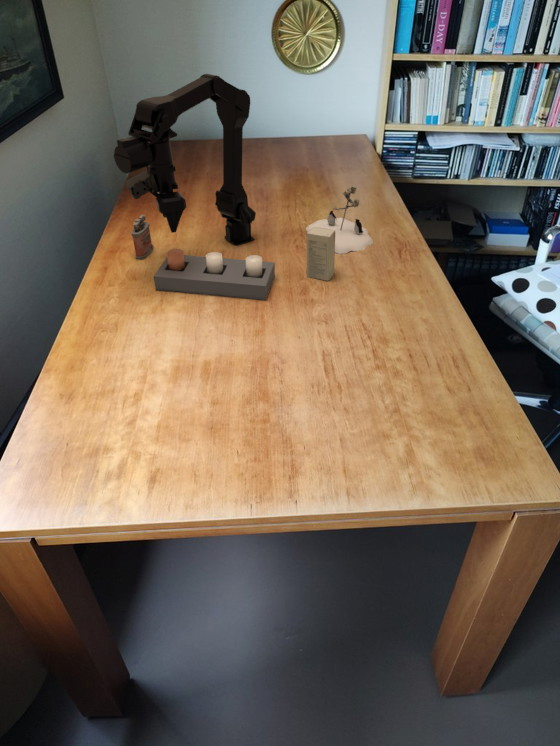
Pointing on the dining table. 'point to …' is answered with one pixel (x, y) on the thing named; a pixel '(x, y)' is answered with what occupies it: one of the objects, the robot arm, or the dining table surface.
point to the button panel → (215, 279)
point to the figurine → (345, 229)
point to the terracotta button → (175, 259)
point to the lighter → (141, 238)
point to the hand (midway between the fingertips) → (169, 224)
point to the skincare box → (320, 253)
